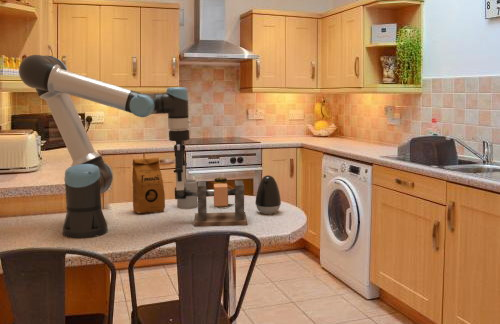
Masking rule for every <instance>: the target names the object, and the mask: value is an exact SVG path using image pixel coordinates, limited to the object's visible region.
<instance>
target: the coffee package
mask: <svg viewBox="0 0 500 324" xmlns="http://www.w3.org/2000/svg"><path fill="white" fill-rule="evenodd" d="M159 159H160V157H152V158H136V159H134V158H133V159H132V176H131V177H132V207H133V208H132V209H133V211H134V212H135V213H137V214H138V213H139V214H149V213H158V212H164V211H165V207H166V197H165V196H166V193H165V187H164V181H163V175H162V172H161V166H160V160H159Z"/></svg>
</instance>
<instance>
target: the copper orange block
mask: <svg viewBox="0 0 500 324" xmlns="http://www.w3.org/2000/svg"><path fill="white" fill-rule="evenodd" d="M213 183H214V184H227V187H228V188H229V184H228V179H227V178H226V177H216V178H214V182H213ZM214 184H213V185H214ZM212 206H214V204H213V205H211V206H210V207H211V208H215V207H217V208H216V209H227V208H229V207H231V206H235V203H228V206H214V207H212Z"/></svg>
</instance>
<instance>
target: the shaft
mask: <svg viewBox="0 0 500 324" xmlns="http://www.w3.org/2000/svg"><path fill="white" fill-rule="evenodd" d="M235 195H236V189H235V188H228V196H235ZM186 196H197V197H198V189H197V190H186V187H184V190H176V187H174V199H175V200H177V199H186ZM206 197H214V188H213V189H206Z"/></svg>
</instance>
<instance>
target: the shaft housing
mask: <svg viewBox="0 0 500 324" xmlns="http://www.w3.org/2000/svg"><path fill="white" fill-rule="evenodd" d="M234 189H236V195H234V212H233V211H231V212H226V211H225V212H207V210H208V209H207V207H208V206H207V196H206V190H207V180H201V181H199V180H198V181H197V190H198V196H197V202H198V206H197V212H195V213H194V220H193V227H195V228H196V227H223V226H224V227H225V226H227V227H228V226H232V227H233V226H248V218H247V215H246V211H245V184H244V180H234Z"/></svg>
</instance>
